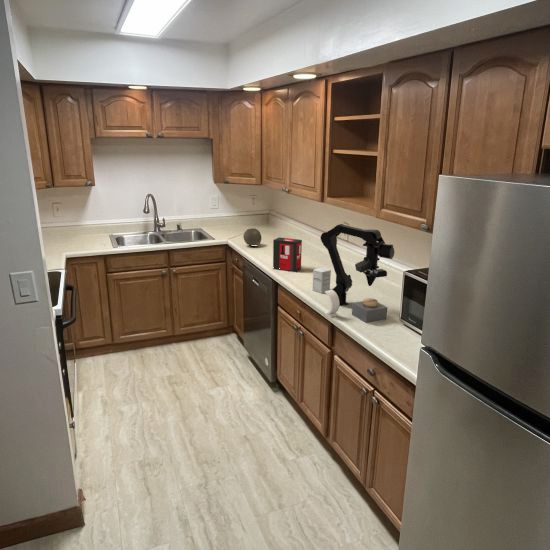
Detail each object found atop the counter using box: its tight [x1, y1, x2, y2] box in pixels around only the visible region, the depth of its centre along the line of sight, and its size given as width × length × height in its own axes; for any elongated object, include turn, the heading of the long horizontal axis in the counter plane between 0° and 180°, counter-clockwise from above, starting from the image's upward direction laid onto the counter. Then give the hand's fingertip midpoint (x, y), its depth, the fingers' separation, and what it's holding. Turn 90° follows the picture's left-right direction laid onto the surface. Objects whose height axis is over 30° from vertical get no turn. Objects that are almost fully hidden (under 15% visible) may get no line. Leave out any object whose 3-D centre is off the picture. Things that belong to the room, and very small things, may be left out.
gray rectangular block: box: [351, 300, 388, 324], centre depth 219 cm, size 12×14×6 cm
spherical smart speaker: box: [242, 227, 262, 246], centre depth 358 cm, size 14×14×15 cm
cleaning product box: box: [272, 236, 303, 273], centre depth 296 cm, size 16×9×20 cm, turn 65°
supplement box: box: [312, 267, 332, 294], centre depth 255 cm, size 7×7×13 cm
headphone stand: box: [323, 289, 340, 318], centre depth 219 cm, size 5×6×12 cm
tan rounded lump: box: [362, 297, 379, 307], centre depth 217 cm, size 7×7×6 cm
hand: (369, 285), depth 224 cm, fingers closed
